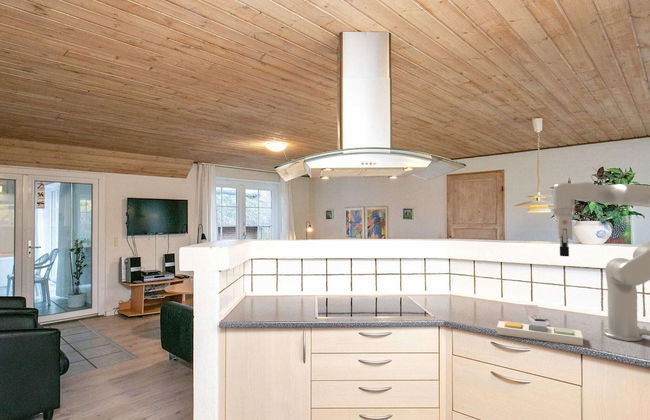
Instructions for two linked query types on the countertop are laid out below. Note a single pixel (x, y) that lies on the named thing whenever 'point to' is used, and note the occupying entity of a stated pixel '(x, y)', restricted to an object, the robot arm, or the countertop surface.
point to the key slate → (537, 326)
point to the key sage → (563, 331)
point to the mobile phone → (535, 314)
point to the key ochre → (513, 325)
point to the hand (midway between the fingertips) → (564, 255)
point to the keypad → (540, 334)
